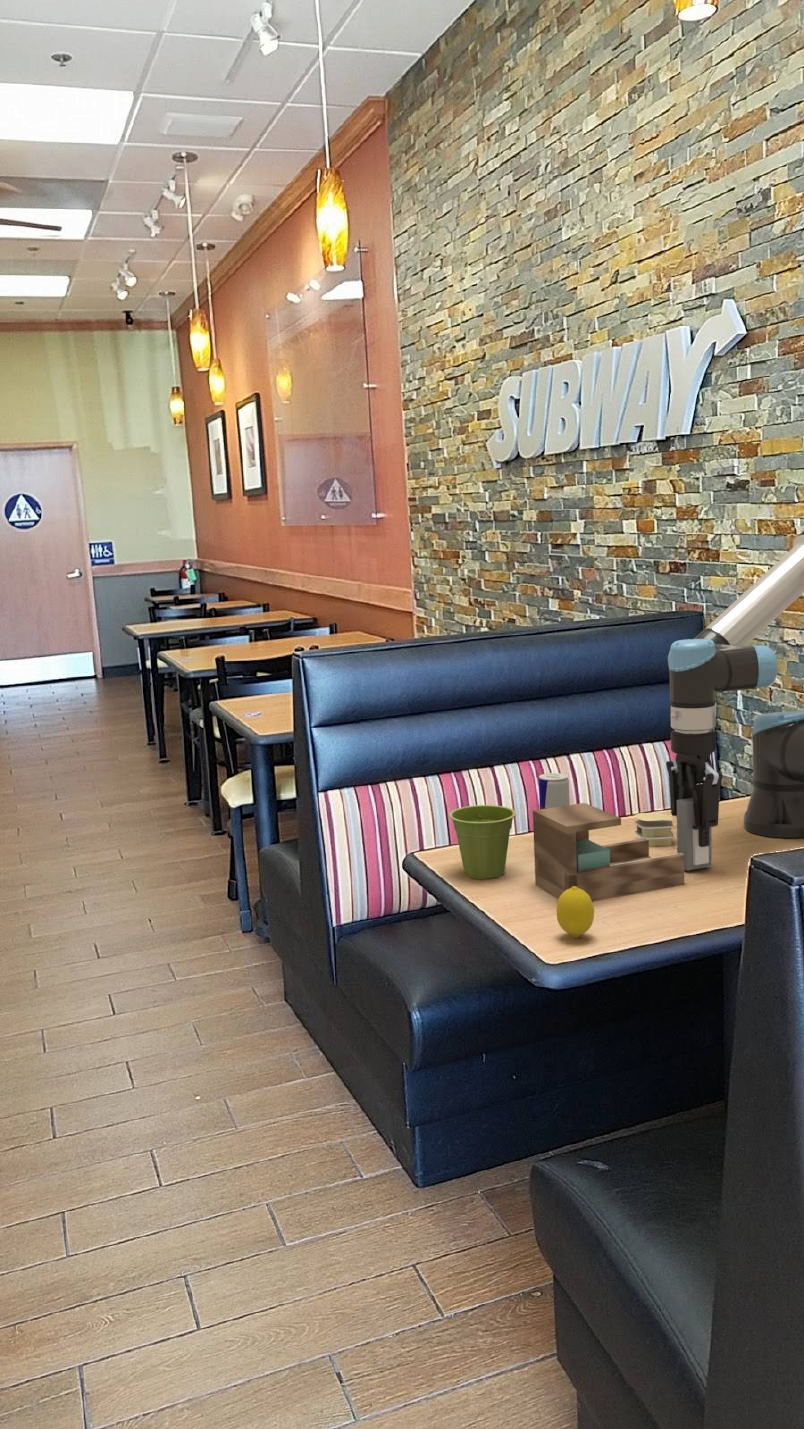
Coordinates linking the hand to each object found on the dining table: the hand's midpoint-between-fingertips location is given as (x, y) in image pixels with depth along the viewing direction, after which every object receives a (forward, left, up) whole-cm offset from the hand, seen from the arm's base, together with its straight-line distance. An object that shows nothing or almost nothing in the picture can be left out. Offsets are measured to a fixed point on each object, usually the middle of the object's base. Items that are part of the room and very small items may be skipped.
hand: (694, 860), depth 194 cm
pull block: (+11, 0, -1) cm, 11 cm away
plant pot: (+33, -16, -2) cm, 37 cm away
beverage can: (+16, -21, -2) cm, 27 cm away
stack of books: (-3, -17, -2) cm, 18 cm away
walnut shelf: (+17, 0, -2) cm, 17 cm away
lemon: (+34, +19, -2) cm, 39 cm away
